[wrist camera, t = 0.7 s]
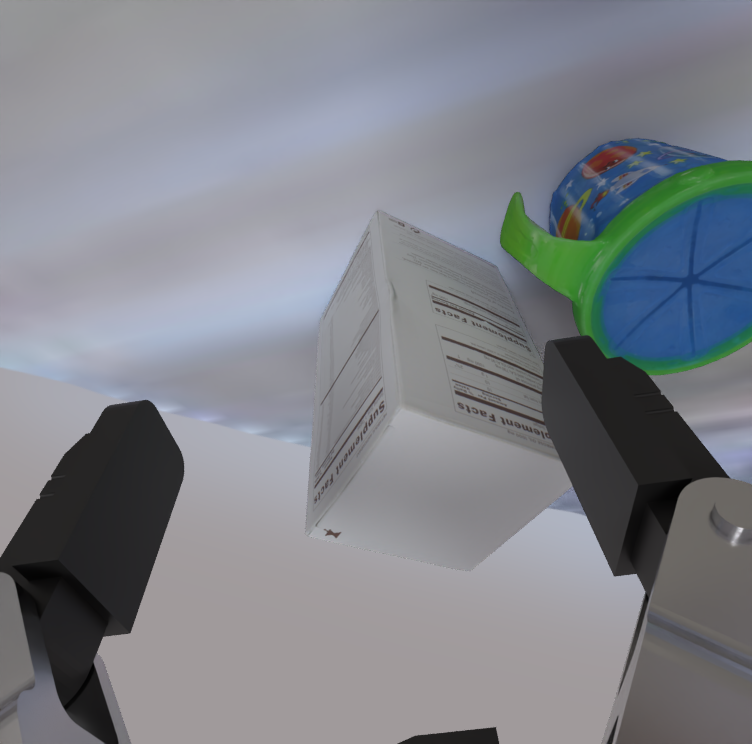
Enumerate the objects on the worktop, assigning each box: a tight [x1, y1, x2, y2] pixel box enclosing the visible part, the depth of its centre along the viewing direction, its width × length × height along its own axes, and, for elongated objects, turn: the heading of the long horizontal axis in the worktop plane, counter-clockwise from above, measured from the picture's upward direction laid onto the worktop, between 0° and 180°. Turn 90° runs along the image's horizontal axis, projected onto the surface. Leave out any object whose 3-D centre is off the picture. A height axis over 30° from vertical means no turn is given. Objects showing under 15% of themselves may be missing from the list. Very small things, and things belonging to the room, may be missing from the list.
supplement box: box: [305, 211, 572, 571], centre depth 27 cm, size 10×9×17 cm
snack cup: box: [500, 138, 752, 375], centre depth 26 cm, size 16×10×10 cm
